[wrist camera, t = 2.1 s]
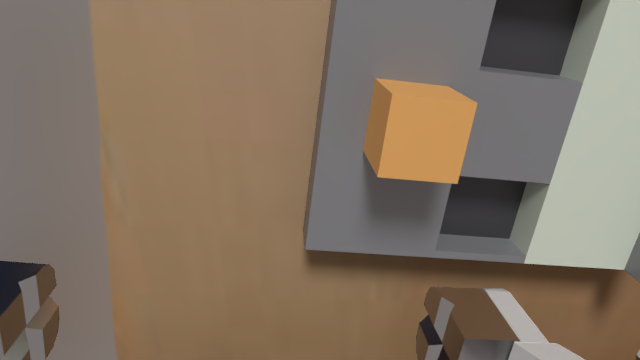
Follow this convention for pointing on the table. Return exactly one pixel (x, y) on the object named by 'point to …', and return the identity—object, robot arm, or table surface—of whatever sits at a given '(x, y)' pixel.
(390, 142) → the block
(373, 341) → the table surface
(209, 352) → the table surface
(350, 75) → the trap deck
